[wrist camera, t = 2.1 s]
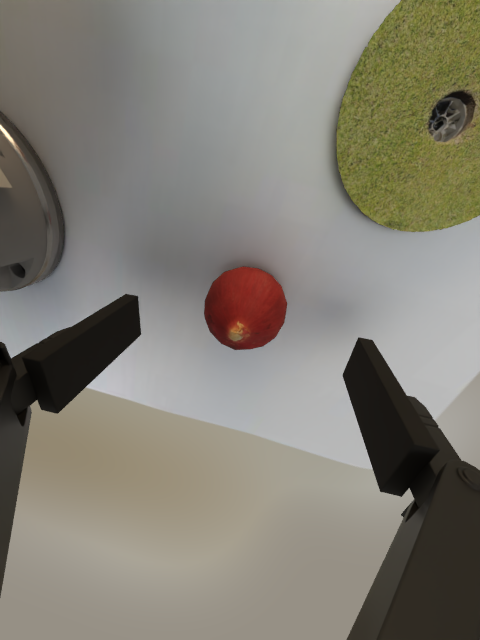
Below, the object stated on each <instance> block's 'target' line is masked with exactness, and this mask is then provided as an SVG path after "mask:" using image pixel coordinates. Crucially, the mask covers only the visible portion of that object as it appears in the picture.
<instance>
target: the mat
mask: <svg viewBox="0 0 480 640" xmlns="http://www.w3.org/2000/svg"><path fill="white" fill-rule="evenodd" d="M336 132H337V160H338V166H339V173H340V174H341V177H342V182H343V184H344V188H345V189H347V190H346V191H347V193H348V194H349V196H350V198H351V200H352V201H353V202H354V203H355V204H356V205H358V208H359V209H360V210H361V211H362V212H363V213H364V214H365V215H367V216H368V217H369V218H370V219H371V220H373V221H375V222H377V223H379V224H380V225H383V226H386V227H389V228H391V229H393V230H394V229H397V230H400V231H407V232H408V231H411V232H415V231H417V232H424V231H431V230H437V229H440V230H441V229H443V228H448V227H452V226H454V225H458V224H461V223H463V222H466V221H469V220H471V219H472V218H475V217H477V216H479V215H480V0H401V1H400V3H399V4H398V5H396V7H395V8H394V9H393V11H392V12H391V13H389V15H388V16H387V17H386V18H385V20H384V22H383V23H382V24H381V25H380V27H379V29H378V30H377V31H376V32H375V33H374V35H373V36H372V38H371V39H370V41H369V43H368V47H365V49H364V51H363V53H362V55H361V57H360V60H359V62H358V64H357V65H356V67H355V69H354V71H353V73H352V75H351V79H350V81H349V83H348V87H347V90H346V92H345V94H344V97H343V99H342V104H341V107H340V112H339V120H338V125H337V131H336Z"/></svg>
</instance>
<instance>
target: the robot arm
mask: <svg viewBox="0 0 480 640" xmlns="http://www.w3.org/2000/svg"><path fill="white" fill-rule="evenodd" d="M63 242H64V228H63V219H62V213H61V209H60V205H59V201H58V198H57V195H56V192H55V190H54V187H53V185H52V182H51V180H50V178H49V176H48V174H47V172H46V170H45V168H44V166H43V165H42V163H41V161H40V159H39V158H38V156H37V155H36V153H35V151H34V150H33V148H32V147H31V146H30V144H29V143H28V142H27V140H26V139H25V138H24V136H23V135H22V134H21V133H20V132H19V130H18V129H17V128H16V127H15V126H14V125H13V124H12V123H11V122H10V121H9V119H8V118H7V117H6V116H4V115H3V114H2V113H1V112H0V292H1V291H11V290H17V289H20V288H23V287H26V286H28V285H31V284H34V283H37V282H39V281H41V280H43V279H45V278H46V277H47V276H49V275H50V274H51V273H52V272H53V270H54V269H55V268H56V266H57V264H58V262H59V260H60V257H61V254H62V249H63ZM140 335H141V328H140V316H139V303H138V296H134V295H129V294H125V295H124V296H122V297H120V298H119V299H117V300H115V301H114V302H112V303H110V304H109V305H107V306H105V307H104V308H102V309H100V310H99V311H97V312H95V313H94V314H92V315H90V316H89V317H87V318H86V319H84V320H82V321H81V322H79V323H77V324H76V325H74V326H72V327H69V328H66V329H63V330H60V331H57V332H55V333H54V334H52V335H50V336H49V337H47V339H46V338H45V339H43V340H42V341H40V342H39V343H37V344H35V345H33V346H32V347H30V348H28V349H26V350H25V351H23V352H21V353H20V354H18V355H16V356H14V357H13V358H10V355H9V353H8V351H7V348H6V346H5V344H4V343H2V342H0V595H1V590H2V584H3V578H4V572H5V566H6V560H7V554H8V548H9V542H10V537H11V531H12V525H13V519H14V513H15V507H16V501H17V495H18V489H19V484H20V478H21V472H22V466H23V460H24V454H25V448H26V442H27V436H28V430H29V424H30V418H31V413H32V412H31V408H30V405H31V404H32V403H34V402H35V401H36V400H38V403H39V405H40V408H41V410H45V411H49V412H53V413H59V412H60V411H61V410H62V409H63V408H64V407H65V406H66V405H67V404H68V403H69V402H70V401H72V400H73V399H74V398H75V397H76V396H77V395H78V394H79V393H80V392H81V391H82V390H83V389H84V388H85V387H86V386H87V385H88V384H89V383H91V382H92V381H93V380H94V379H95V378H96V377H97V376H98V375H99V374H100V373H101V372H102V371H103V370H104V369H105V368H106V367H107V366H108V365H109V364H111V363H112V362H113V361H114V360H115V359H116V358H117V357H118V356H119V355H120V354H121V353H122V352H123V351H124V350H125V349H126V348H127V347H128V346H130V345H131V344H132V343H133V342H134V341H135V340H136V339H137V338H138V337H139V336H140ZM343 378H344V381H345V384H346V388H347V391H348V394H349V397H350V400H351V403H352V406H353V409H354V412H355V415H356V418H357V421H358V424H359V428H360V431H361V434H362V437H363V440H364V443H365V446H366V449H367V452H368V455H369V458H370V461H371V464H372V468H373V471H374V474H375V477H376V480H377V483H378V486H379V489H380V492H385V493H389V494H393V495H397V496H401V497H402V496H403V494H404V493H405V492H406V491H407V490H408V488H410V490H411V492H412V494H413V497H414V500H413V502H412V503H411V504H410V505H409V506H408V507H407V508H406V509H405V511H404V512H403V513H402V514H401V515H402V516H403V517H404V518H403V520H402V523H401V525H400V527H399V529H398V531H397V534H396V535H395V538H394V540H393V542H392V544H391V546H390V548H389V550H388V552H387V555H386V557H385V559H384V561H383V563H382V566H381V567H380V570H379V572H378V574H377V576H376V578H375V580H374V583H373V585H372V587H371V589H370V591H369V593H368V595H367V597H366V599H365V602H364V604H363V606H362V608H361V610H360V612H359V615H358V617H357V619H356V621H355V623H354V625H353V627H352V630H351V631H350V634H349V636H348V638H347V640H480V470H478V469H477V468H476V467H474V466H472V465H470V464H468V463H467V462H464V461H461V459H460V458H459V456H458V455H457V453H456V452H455V450H454V449H453V447H452V446H451V444H450V443H449V441H448V440H447V438H446V437H445V435H444V434H443V432H442V431H441V429H439V428H438V425H437V423H436V422H435V420H433V419H432V418H433V417H432V416H431V414H430V413H429V411H428V410H427V409H426V407H425V406H424V405H423V404H422V403H420V402H419V401H418V400H417V399H416V398H415V397H411V396H407V395H406V394H405V392H404V391H403V389H402V387H401V386H400V384H399V382H398V381H397V379H396V378H395V376H394V374H393V373H392V371H391V369H390V368H389V366H388V365H387V363H386V361H385V360H384V358H383V356H382V355H381V353H380V352H379V350H378V348H377V347H376V345H375V343H374V342H373V340H369V339H364V338H359V337H358V340H357V342H356V344H355V347H354V349H353V351H352V354H351V356H350V359H349V361H348V363H347V366H346V368H345V371H344V373H343Z"/></svg>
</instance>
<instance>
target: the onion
mask: <svg viewBox="0 0 480 640" xmlns="http://www.w3.org/2000/svg"><path fill="white" fill-rule="evenodd" d="M286 309H287V302H286V299H285V296H284V292H283V289H282V286H281V285H280V284H279V283H278V282H277V281H276V280H275V278H274V277H273V276H272V275H270V274H268V273H266V272H264V271H262V270H260V269H258V268H250V267H240V268H236V269H233V270H229V271H226V272H224V273H223V274H222V275H221V276H219V277H218V278H217V279H216V280H215V281H214V282H213V283H212V285H211V288H210V290H209V292H208V294H207V297H206V299H205V310H204V315H205V320H206V322H207V325H208V328H209V330H210V332H211V333H212V334H213V336H214V337H215V338H216V339H217V340H218V341H219V342H220V343H221V344H223V345H226V346H228V347H230V348H232V349H234V350H243V349H253V348H257V347H262V346H264V345H265V344H267V343H268V342H270V341H271V340H272V339H274V338H275V337H276V336H277V334H278V332H279V330H280V329H281V327H282V325H283V324H284V320H285V315H286Z"/></svg>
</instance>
